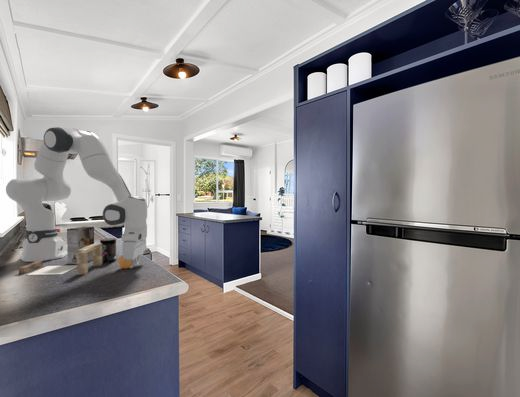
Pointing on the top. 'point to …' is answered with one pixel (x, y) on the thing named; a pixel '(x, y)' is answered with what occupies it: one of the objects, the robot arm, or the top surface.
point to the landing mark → (53, 270)
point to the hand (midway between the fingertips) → (135, 265)
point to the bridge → (83, 257)
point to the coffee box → (79, 242)
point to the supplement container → (108, 249)
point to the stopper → (30, 267)
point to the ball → (124, 263)
